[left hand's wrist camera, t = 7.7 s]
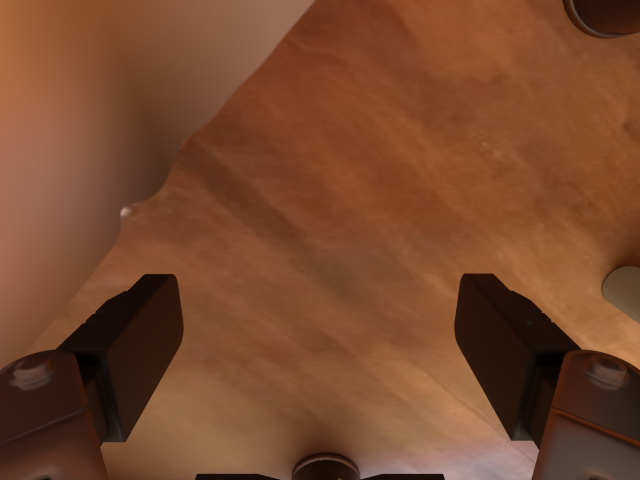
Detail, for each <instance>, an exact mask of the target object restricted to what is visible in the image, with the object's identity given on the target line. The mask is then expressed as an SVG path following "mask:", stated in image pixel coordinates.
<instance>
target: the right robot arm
mask: <svg viewBox="0 0 640 480" xmlns="http://www.w3.org/2000/svg"><path fill="white" fill-rule="evenodd" d="M564 3H565V7H566V10H567V13H568V15H569V17H570V19H571V20H572V22H573V23H574V24H575V25H576V27H577V28H578V29H580V30H581V31H582V32H584V33H586V34H588V35H590V36H593V37H596V38H604V39H607V38H616V37H621V36H626V35H630V34H633V33H637V32H640V0H564Z"/></svg>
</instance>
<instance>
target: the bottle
mask: <svg viewBox="0 0 640 480" xmlns="http://www.w3.org/2000/svg"><path fill="white" fill-rule="evenodd" d="M602 294H603V297H604V298H605V299H606V300H607V301H608V302H609V303H611V304H612V305H613V306H615V307H616V308H618V309H619V310H620V311H622V312H623V313H625V314H626V315H627V316H629V317H630V318H632V319H633V320H634V321H636V322H637V323H639V324H640V268H638V267H635V266H624V267H621V268H618V269H616V270H614V271H613V272H612V273H610V274H609V275H608V276H607V278H606V279H605V281H604V283H603V285H602Z"/></svg>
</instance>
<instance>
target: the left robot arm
mask: <svg viewBox="0 0 640 480" xmlns="http://www.w3.org/2000/svg"><path fill="white" fill-rule="evenodd" d="M183 329H184V327H183V317H182V310H181V303H180V296H179V289H178V282H177V279H176V277H175V275H174V274H145V275H143V276H142V277H141V278H140V279H139V280H138V281H137V282H136V283H135V284H134V285H133V286H132V287H131V288H130V289H129V290H128V291H124V292H122V293H120V294H119V295H117V296H115V297H113V298H111V299H109V300H107V301H106V302H105V303H104V304H103V305H102V306H101V307H100V308H99V309H98V310H97V311H96V312H95V314H92V315H91V316H90V317H89V318H88V319H87V320H86V323H83V324H82V325H81V326H80V327H79V328H78V329H77V330H76V331H74V332H73V333H72V334H71V335H70V336H69V337H68V338H67V339H66V340H65V341H64V342H63V343H62V344H61V345H60V346H59V347H58V348H57V349H55V350H47V351H42V352H38V353H34V354H31V355H28V356H25V357H23V358H20V359H18V360H16V361H14V362H12V363H10V364H8V365H7V366H5V367H4V368H2V369H1V370H0V480H108V476H107V472H106V468H105V465H104V461H103V457H102V453H101V450H100V447H101V445H102V443H103V442H126V440H127V438H128V437H129V435H130V433H131V431H132V430H133V428H134V426H135V424H136V423H137V421H138V419H139V417H140V416H141V414H142V412H143V410H144V408H145V407H146V405H147V403H148V401H149V400H150V398H151V396H152V394H153V393H154V391H155V389H156V387H157V386H158V384H159V382H160V380H161V378H162V377H163V375H164V373H165V371H166V370H167V368H168V366H169V364H170V363H171V361H172V359H173V357H174V356H175V354H176V352H177V350H178V349H179V347H180V345H181V342H182V338H183ZM454 330H455V337H456V341H457V344H458V346H459V348H460V350H461V352H462V353H463V355H464V357H465V359H466V361H467V362H468V364H469V366H470V368H471V369H472V371H473V373H474V375H475V377H476V378H477V380H478V382H479V384H480V385H481V387H482V389H483V391H484V393H485V394H486V396H487V398H488V400H489V402H490V403H491V405H492V407H493V409H494V410H495V412H496V414H497V416H498V418H499V419H500V421H501V423H502V425H503V427H504V428H505V430H506V432H507V434H508V435H509V437H510V439H511V441H534V443H535V444H536V446H537V447H538V449H539V453H538V457H537V461H536V465H535V468H534V472H533V476H532V480H640V370H639V369H638V368H636V367H635V366H633V365H632V364H630V363H628V362H626V361H624V360H622V359H620V358H617V357H615V356H612V355H609V354H606V353H602V352H598V351H593V350H582V349H581V348H580V347H579V346H578V345H577V344H576V343H575V342H574V341H573V340H572V339H571V338H570V337H569V336H567V335H566V334H565V333H564V332H563V331H562V330H561V329H560V328H559V327H558V326H557V325H556V324H555V323H554V322H551V319H550V318H549V317H548V316H547V315H546V314H544V313H542V311H541V310H540V309H539V308H538V307H537V306H536V305H535V304H534V303H533V302H532V301H531V300H529V299H528V298H526V297H524V296H522V295H520V294H518V293H516V292H515V291H510V290H509V289H508V288H507V287H506V286H505V285H504V284H503V283H502V282H501V281H500V280H499V279H498V278H497V277H496V276H495V275H494V274H464V275H463V276H462V278H461V281H460V287H459V294H458V301H457V309H456V316H455V324H454ZM195 480H279V479H275V478H271V477H268V476H264V475H260V474H197V476H196V479H195ZM292 480H360V474H359V471H358V469H357V467H356V466H355V465H354V464H353V463H352V462H351V461H350V460H348V459H346V458H344V457H342V456H339V455H335V454H318V455H313V456H310V457H308V458H306V459H304V460H303V461H301V462H300V463H299V464H298V465H297V466H296V467H295V469H294V471H293V473H292ZM361 480H445V479H444V476H443V474H380V475H376V476H372V477H369V478H365V479H361Z"/></svg>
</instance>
